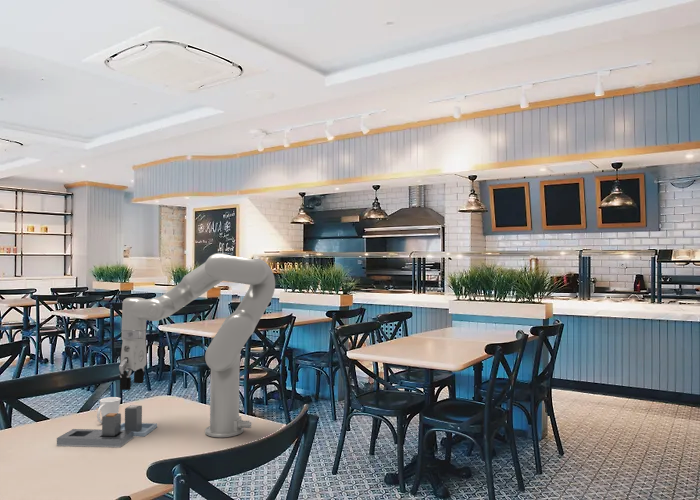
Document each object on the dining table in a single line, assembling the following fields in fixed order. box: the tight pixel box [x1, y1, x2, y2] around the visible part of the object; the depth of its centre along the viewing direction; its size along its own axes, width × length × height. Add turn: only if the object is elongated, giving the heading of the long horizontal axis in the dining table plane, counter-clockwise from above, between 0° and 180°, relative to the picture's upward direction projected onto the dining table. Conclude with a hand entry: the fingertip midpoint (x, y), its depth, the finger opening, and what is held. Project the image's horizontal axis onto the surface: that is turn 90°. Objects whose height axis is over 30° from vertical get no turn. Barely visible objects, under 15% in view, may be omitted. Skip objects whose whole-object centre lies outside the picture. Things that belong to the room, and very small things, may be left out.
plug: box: [124, 404, 143, 432], centre depth 184 cm, size 4×4×8 cm
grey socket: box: [56, 412, 134, 448], centre depth 173 cm, size 20×9×9 cm, turn 87°
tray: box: [121, 422, 158, 437], centre depth 184 cm, size 12×10×2 cm
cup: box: [96, 396, 122, 424], centre depth 195 cm, size 7×10×8 cm
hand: (132, 386), depth 184 cm, fingers open, 9 cm apart
